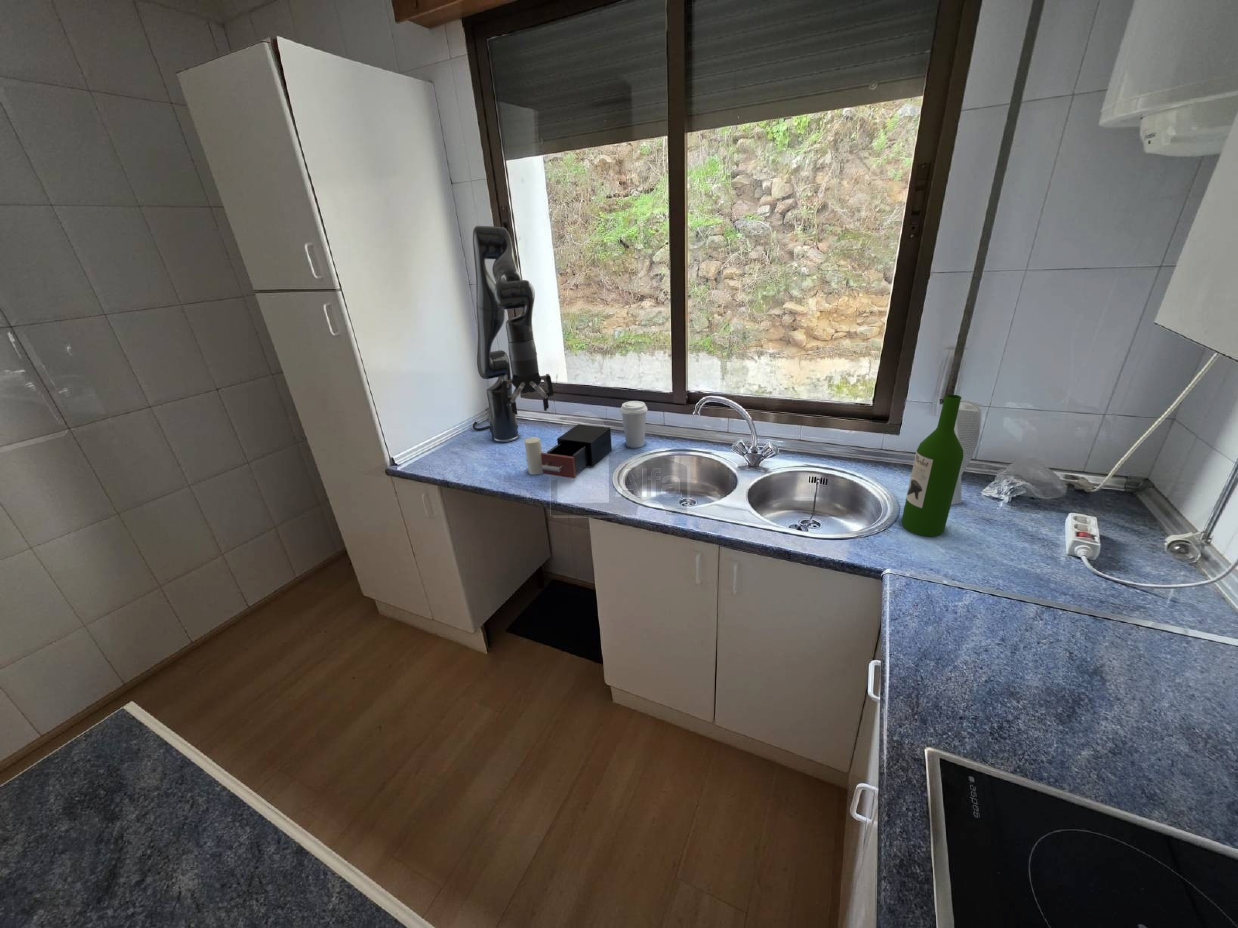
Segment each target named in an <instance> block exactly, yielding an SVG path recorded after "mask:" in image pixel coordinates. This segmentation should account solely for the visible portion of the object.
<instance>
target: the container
mask: <svg viewBox="0 0 1238 928" xmlns="http://www.w3.org/2000/svg"><path fill="white" fill-rule="evenodd" d="M523 442H524V449H525V456H526V464H527V470H528V474H530V475H532V476H535V475H536V476H537V475H541V474H543V469H542V460H541V453H543V451H542V441H541V438H540V437H537V436H531V437H527V438H525V439H524V440H523Z"/></svg>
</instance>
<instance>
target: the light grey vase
mask: <svg viewBox="0 0 1238 928" xmlns="http://www.w3.org/2000/svg"><path fill="white" fill-rule="evenodd" d="M981 407H982V405H981V403H979V402H977V401H971V400H966V399H962V398H961V401H960V405H959V410H958V414H957V419H956V423H955V428H954V431H955V434H956V436H957V438H958V440H959V442H960V445H961V447H962V449H963V460H962V464H961V468H960V472H959V476H958V480H957V483H956V487H955V491H954V495H953V499H952V503H951V506H953V505H957V504H962V500H963V499H962V475H963V474H964V471H965V470H966V469H967V467H968V466H969V464H970V462H971V461H972V459H973V456H974V454H975V453H976V449H977V447H978V443H979V440H980V435H981V426H982V410H981Z"/></svg>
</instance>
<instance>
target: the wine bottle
mask: <svg viewBox="0 0 1238 928" xmlns="http://www.w3.org/2000/svg"><path fill="white" fill-rule="evenodd" d="M961 399H962V396H960V395H958V394H945V395H944V399H943V402H942V407H941V411H940V415H939V418H938V422H937V427H936V428H935V429H934V430H933V431H932V432H931V433H930V434H929V435H928V436H927V437H925V438H924V439H923V440H922V441H921V442H920V443H919V445H918V447H917V449H916V452H915V457H914V460H913V465H912V470H911V474H910V479H909V484H908V488H907V494H906V497H905V502H904V507H903V511H902V517H901V520H900V521H901V526H902V527H903V528H904V529H905V530H906V531H907V532H909V533H911V534H914V535H917V536H922V537H929V538H931V537H932V538H933V537H939V536H941V535H942V534H943V533H944V532H945V529H946V525H947V522H948V518H949V514H950V510H951V506H952V505H951V503H952V499H953V495H954V491H955V487H956V483H957V480H958V476H959V472H960V468H961V464H962V460H963V449H962V447H961V445H960V442H959V440H958V438H957V436H956V434H955V431H954V428H955V423H956V419H957V414H958V410H959V405H960V404H961V402H960V401H961Z"/></svg>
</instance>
